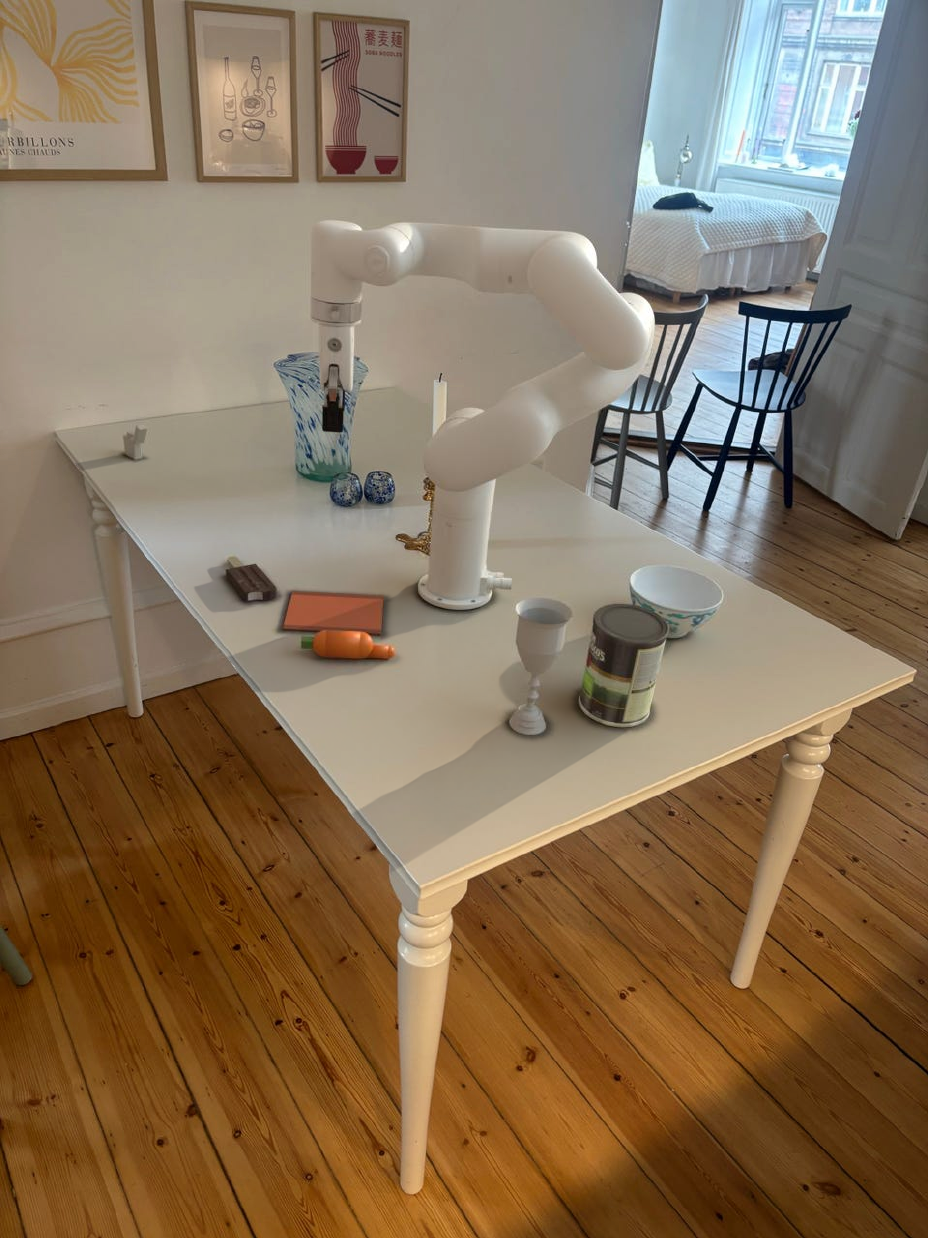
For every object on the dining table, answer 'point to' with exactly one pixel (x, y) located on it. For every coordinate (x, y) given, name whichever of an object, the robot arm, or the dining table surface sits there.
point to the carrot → (346, 645)
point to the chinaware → (676, 596)
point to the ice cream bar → (250, 581)
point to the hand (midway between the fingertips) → (333, 420)
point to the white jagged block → (134, 442)
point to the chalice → (537, 653)
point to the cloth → (334, 612)
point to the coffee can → (622, 664)
